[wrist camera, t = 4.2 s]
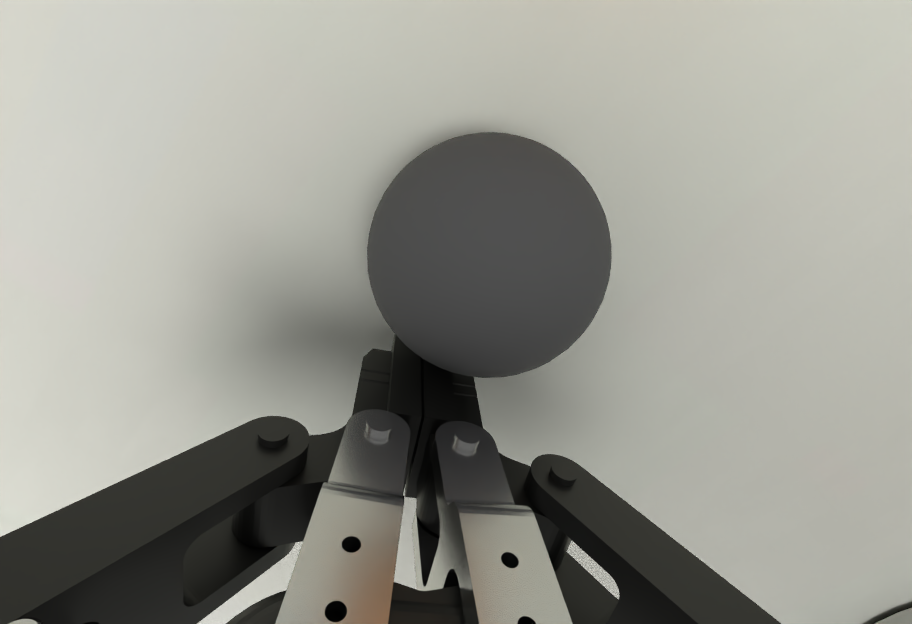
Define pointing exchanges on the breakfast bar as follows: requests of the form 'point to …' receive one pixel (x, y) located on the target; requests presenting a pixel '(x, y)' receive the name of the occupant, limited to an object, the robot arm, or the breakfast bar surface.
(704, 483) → the breakfast bar surface
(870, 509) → the breakfast bar surface
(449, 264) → the ball
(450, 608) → the robot arm
